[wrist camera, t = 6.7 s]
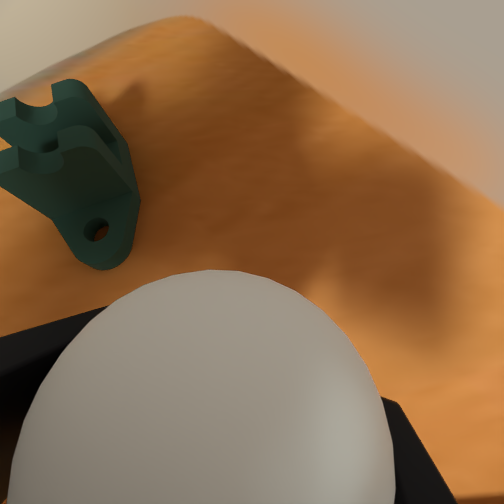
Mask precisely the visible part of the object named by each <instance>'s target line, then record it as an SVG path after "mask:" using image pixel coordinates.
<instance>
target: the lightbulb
mask: <svg viewBox="0 0 504 504" xmlns="http://www.w3.org/2000/svg"><path fill="white" fill-rule="evenodd" d="M395 490H396V485H395V470H394V456H393V443H392V439H391V434H390V430H389V426H388V422H387V418H386V414H385V410H384V406H383V402H382V400H381V397H380V395H379V393H378V390H377V388H376V386H375V384H374V381H373V379H372V377H371V374H370V372H369V370H368V368H367V365H366V364H365V362H364V361H363V359H362V358H361V356H360V355H359V353H358V352H357V350H356V349H355V347H354V346H353V344H352V343H351V341H350V340H349V338H348V337H347V335H346V334H345V333H344V332H343V331H342V330H341V329H340V328H339V327H338V326H337V325H336V324H335V323H334V322H333V321H332V320H331V318H330V317H329V316H328V315H327V314H326V313H325V312H324V311H323V310H322V309H320V308H319V307H317V306H316V305H315V304H313V303H312V302H310V301H309V300H308V299H306V298H305V297H303V296H302V295H301V294H299V293H298V292H296V291H295V290H293V289H290V288H288V287H286V286H284V285H282V284H279V283H277V282H275V281H273V280H271V279H269V278H265V277H261V276H257V275H253V274H249V273H245V272H241V271H228V270H203V271H196V272H189V273H182V274H177V275H172V276H169V277H166V278H163V279H160V280H157V281H154V282H151V283H148V284H145V285H143V286H141V287H139V288H137V289H136V290H134V291H132V292H130V293H128V294H127V295H125V296H123V297H121V298H119V299H118V300H116V301H115V302H113V303H112V304H111V305H110V306H108V307H107V308H106V309H105V310H103V311H102V312H101V313H99V314H98V315H97V316H96V317H94V318H93V319H92V320H91V321H90V322H89V323H88V324H87V325H86V326H85V327H84V328H83V329H82V330H81V332H80V333H79V334H78V335H77V336H76V337H75V338H74V339H73V340H72V341H71V343H70V344H69V345H68V346H67V347H66V348H65V350H64V351H63V352H62V354H61V355H60V356H59V358H58V359H57V361H56V362H55V364H54V365H53V367H52V368H51V370H50V371H49V373H48V374H47V376H46V377H45V379H44V381H43V382H42V384H41V385H40V387H39V389H38V391H37V393H36V396H35V398H34V400H33V402H32V404H31V406H30V409H29V411H28V413H27V415H26V417H25V419H24V422H23V425H22V429H21V432H20V436H19V439H18V442H17V446H16V449H15V453H14V456H13V459H12V466H11V474H10V481H9V488H8V496H7V504H394V499H395Z"/></svg>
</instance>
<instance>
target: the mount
mask: <svg viewBox="0 0 504 504" xmlns="http://www.w3.org/2000/svg"><path fill="white" fill-rule="evenodd" d="M51 87H52V96H53V102H52V103H51V104H49V105H47V106H44V107H34V106H29V105H27V104H24V103H22V102H20V101H19V100H18V99H16V98H15V97H13V98H10V99H7V100H4V101H2V102H0V137H1V138H3V139H4V140H5V141H6V142H7V143H9V144H10V145H11V146H12V147H11V148H8V149H5V150H2V151H0V186H1V187H2V188H4V189H5V190H7V191H8V192H10V193H11V194H13V195H14V196H16V197H18V198H19V199H21V200H22V201H24V202H25V203H27V204H28V205H30V206H31V207H33V208H35V209H36V210H38V211H39V212H41V213H42V214H44V215H45V216H47V217H48V218H50V219H51V220H52V221H53V223H54V224H55V226H56V227H57V229H58V230H59V232H60V233H61V235H62V237H63V238H64V240H65V241H66V243H67V244H68V246H69V247H70V249H71V251H72V252H73V254H74V255H75V257H76V258H77V259H78V260H80V261H81V262H83V263H85V264H87V265H89V266H90V267H92V268H94V269H97V270H108V269H112V268H114V267H116V266H118V265H120V264H121V263H122V262H123V261H124V260H125V259H126V258H127V257H128V255H129V253H130V251H131V248H132V244H133V239H134V233H135V228H136V223H137V217H138V212H139V207H140V201H141V200H140V195H139V191H138V187H137V183H136V178H135V174H134V170H133V165H132V161H131V157H130V153H129V148H128V144H127V143H126V141H125V140H124V138H123V137H122V136H121V134H120V133H119V131H118V130H117V128H116V127H115V126H114V124H113V123H112V121H111V120H110V118H109V117H108V116H107V114H106V113H105V111H104V110H103V109H102V107H101V106H100V104H99V103H98V101H97V100H96V99H95V97H94V96H93V94H92V93H91V91H90V90H89V89H88V87H87V86H86V85H85V84H84V83H82V82H81V81H79V80H75V79H66V80H63V81H60V82H57V83H54V84H51ZM104 226H109V230H108V232H107V234H106V235H105V237H104V238H102V239H101V240H99V241H95V242H94V237H95V234H96V233H97V231H98V230H99V229H101V228H102V227H104Z"/></svg>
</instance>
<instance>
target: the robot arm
mask: <svg viewBox="0 0 504 504" xmlns="http://www.w3.org/2000/svg"><path fill="white" fill-rule="evenodd" d="M108 306H110V305H108ZM108 306H105V307H102V308H98V309H95V310H91V311H88V312H85V313H81V314H78V315H74V316H71V317H68V318H64V319H61V320H58V321H54V322H51V323H47V324H44V325H41V326H37V327H34V328H30V329H27V330H24V331H20V332H17V333H13V334H10V335H7V336H3V337H0V504H2V503H3V501H4V500H5V499H6V498H7V496H8V488H9V481H10V474H11V466H12V459H13V456H14V453H15V449H16V446H17V442H18V439H19V436H20V432H21V429H22V425H23V422H24V419H25V417H26V415H27V413H28V411H29V409H30V406H31V404H32V402H33V400H34V398H35V396H36V393H37V391H38V389H39V387H40V385H41V384H42V382H43V381H44V379H45V377H46V376H47V374H48V373H49V371H50V370H51V368H52V367H53V365H54V364H55V362H56V361H57V359H58V358H59V356H60V355H61V354H62V352H63V351H64V350H65V348H66V347H67V346H68V345H69V344H70V343H71V341H72V340H73V339H74V338H75V337H76V336H77V335H78V334H79V333H80V332H81V330H82V329H83V328H84V327H85V326H86V325H87V324H88V323H89V322H90V321H91V320H92V319H93V318H94V317H96V316H97V315H98V314H99V313H101V312H102V311H103V310H105V309H106V308H107V307H108ZM380 397H381V396H380ZM381 400H382V402H383V406H384V410H385V414H386V418H387V422H388V426H389V430H390V434H391V439H392V443H393V456H394V470H395V485H396V490H395V499H394V504H458V503H457V501H456V499H455V498H454V496H453V494H452V493H451V491H450V489H449V488H448V486H447V484H446V483H445V481H444V479H443V477H442V476H441V474H440V472H439V471H438V469H437V467H436V466H435V464H434V462H433V461H432V459H431V457H430V455H429V454H428V452H427V450H426V449H425V447H424V445H423V444H422V442H421V440H420V439H419V437H418V435H417V434H416V432H415V430H414V428H413V427H412V425H411V423H410V422H409V420H408V418H407V417H406V415H405V413H404V412H403V410H402V408H401V407H400V405H399V404H398V403H397V402H395V401H392V400H389V399H387V398H384V397H381Z"/></svg>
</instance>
